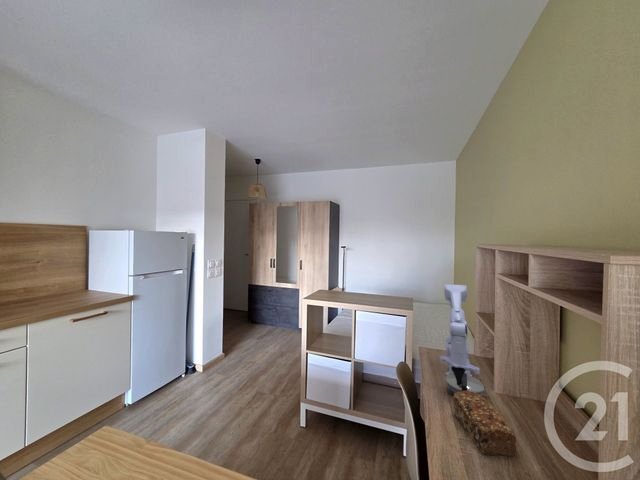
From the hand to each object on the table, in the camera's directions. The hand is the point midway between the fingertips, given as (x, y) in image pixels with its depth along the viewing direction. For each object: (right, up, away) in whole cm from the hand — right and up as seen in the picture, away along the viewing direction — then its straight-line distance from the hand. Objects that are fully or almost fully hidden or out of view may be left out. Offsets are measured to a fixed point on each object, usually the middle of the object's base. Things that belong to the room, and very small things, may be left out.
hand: (459, 384), depth 101 cm
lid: (+4, -2, +3) cm, 5 cm away
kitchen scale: (+4, -6, +2) cm, 7 cm away
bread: (-3, -6, -19) cm, 20 cm away
